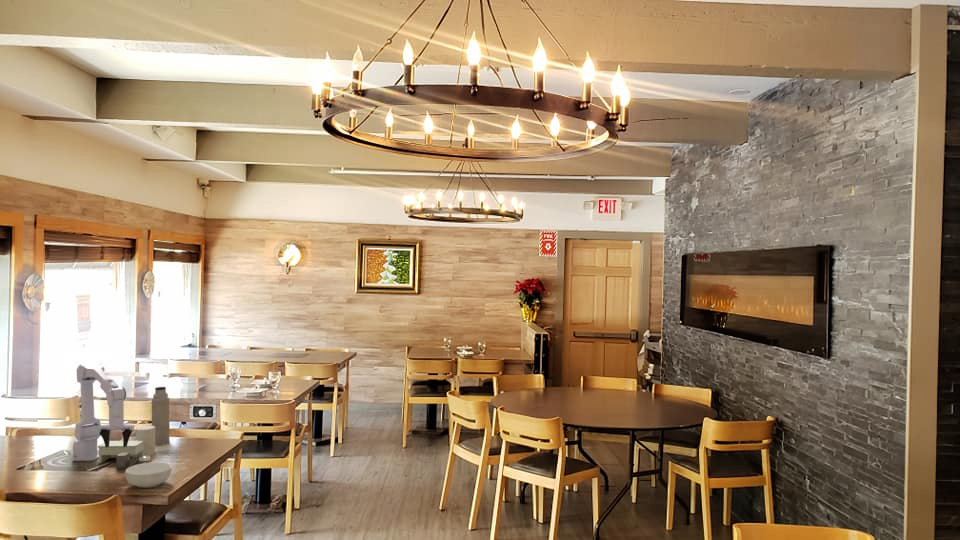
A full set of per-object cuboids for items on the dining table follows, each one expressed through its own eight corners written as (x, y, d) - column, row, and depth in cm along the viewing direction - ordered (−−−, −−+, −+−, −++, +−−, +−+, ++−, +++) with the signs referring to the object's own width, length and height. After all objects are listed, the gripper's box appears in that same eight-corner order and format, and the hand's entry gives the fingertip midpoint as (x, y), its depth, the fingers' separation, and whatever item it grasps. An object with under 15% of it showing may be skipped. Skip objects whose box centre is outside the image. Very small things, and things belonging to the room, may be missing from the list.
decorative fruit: (116, 448, 342) (116, 427, 342) (100, 448, 342) (100, 427, 342) (126, 443, 351) (126, 423, 351) (110, 443, 351) (110, 423, 351)
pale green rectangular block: (98, 463, 317) (97, 446, 317) (107, 457, 326) (107, 440, 326) (135, 462, 318) (135, 445, 318) (144, 456, 327) (144, 440, 327)
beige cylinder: (147, 455, 329) (147, 430, 329) (132, 454, 331) (132, 429, 330) (158, 451, 337) (158, 426, 337) (143, 450, 339) (143, 425, 338)
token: (136, 463, 317) (136, 458, 317) (140, 460, 322) (140, 455, 322) (148, 463, 317) (148, 458, 317) (152, 460, 322) (152, 455, 322)
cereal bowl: (124, 494, 275) (124, 476, 275) (126, 481, 290) (126, 464, 290) (171, 488, 282) (171, 471, 282) (171, 476, 297) (171, 460, 297)
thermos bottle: (163, 440, 357) (163, 385, 357) (172, 442, 353) (172, 386, 353) (148, 443, 351) (148, 387, 350) (158, 446, 346) (157, 389, 346)
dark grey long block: (116, 469, 307) (116, 455, 307) (132, 459, 323) (132, 446, 323) (124, 469, 308) (124, 455, 308) (139, 459, 323) (139, 446, 323)
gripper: (94, 417, 303) (94, 449, 303) (129, 417, 304) (129, 448, 304) (102, 414, 310) (102, 444, 310) (136, 413, 311) (136, 444, 311)
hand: (116, 446), depth 308 cm, fingers open, 7 cm apart
